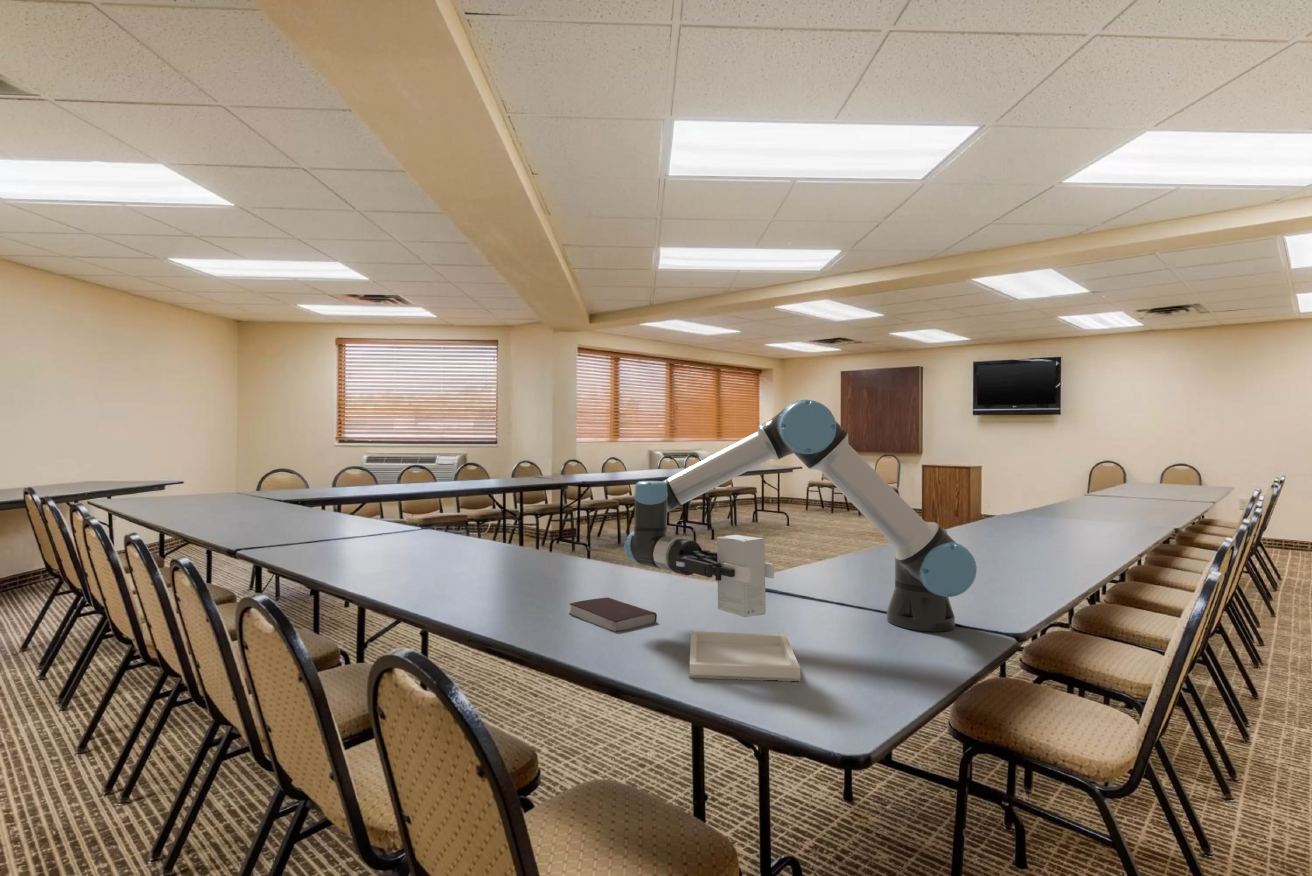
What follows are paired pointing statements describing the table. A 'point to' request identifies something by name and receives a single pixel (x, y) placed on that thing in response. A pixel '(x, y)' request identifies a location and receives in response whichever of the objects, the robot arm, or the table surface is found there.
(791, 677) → the tray
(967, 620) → the table surface
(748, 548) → the skincare box
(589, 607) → the book
